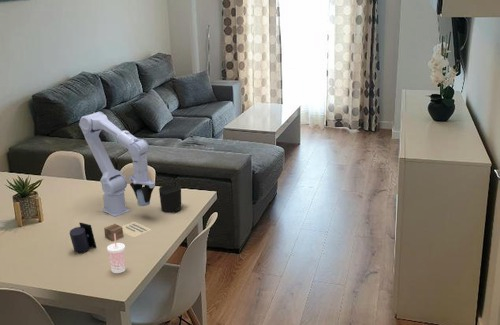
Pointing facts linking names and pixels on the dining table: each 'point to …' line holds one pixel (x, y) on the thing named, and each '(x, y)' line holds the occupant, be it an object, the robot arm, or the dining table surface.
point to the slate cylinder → (141, 198)
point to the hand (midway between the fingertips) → (143, 200)
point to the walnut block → (111, 230)
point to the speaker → (82, 238)
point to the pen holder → (170, 198)
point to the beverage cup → (117, 256)
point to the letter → (134, 229)
